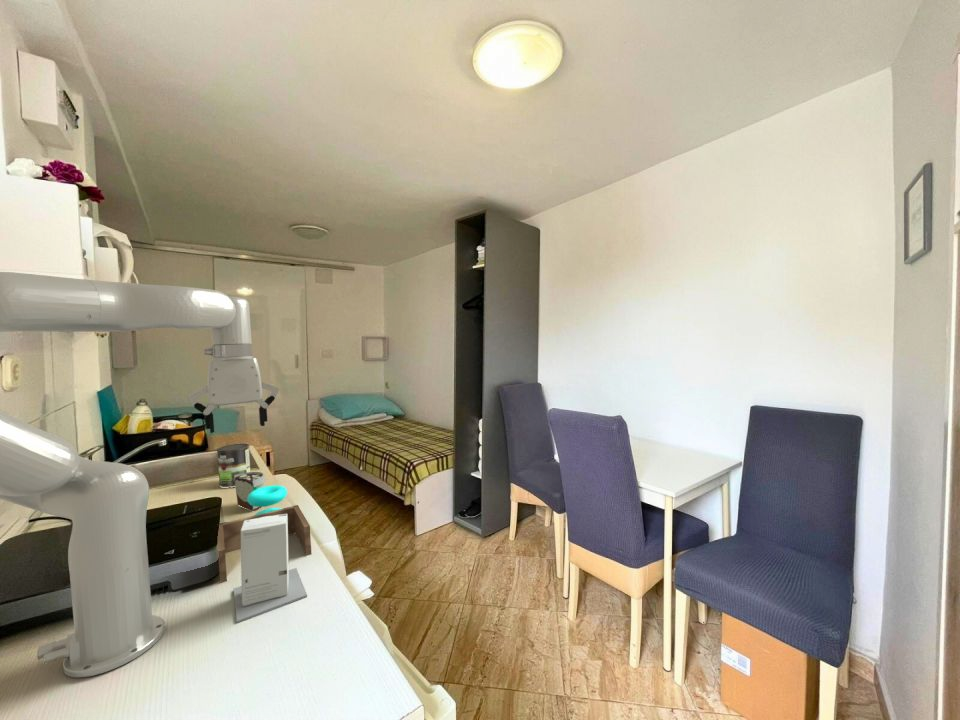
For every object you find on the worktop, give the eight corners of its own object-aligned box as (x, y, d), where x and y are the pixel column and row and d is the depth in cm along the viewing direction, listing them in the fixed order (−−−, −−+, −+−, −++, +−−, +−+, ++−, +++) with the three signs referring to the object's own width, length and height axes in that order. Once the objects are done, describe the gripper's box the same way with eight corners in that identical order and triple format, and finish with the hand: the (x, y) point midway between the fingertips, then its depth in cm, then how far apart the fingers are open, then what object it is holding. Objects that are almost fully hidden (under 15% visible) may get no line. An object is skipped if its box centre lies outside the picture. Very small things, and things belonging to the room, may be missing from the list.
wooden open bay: (220, 583, 84) (218, 551, 83) (218, 552, 97) (217, 524, 96) (311, 553, 94) (309, 525, 94) (299, 529, 107) (297, 504, 107)
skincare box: (242, 608, 75) (236, 532, 74) (246, 590, 80) (241, 519, 79) (290, 594, 78) (286, 522, 77) (291, 578, 83) (287, 510, 83)
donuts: (292, 489, 111) (253, 500, 104) (294, 523, 111) (255, 536, 104) (279, 481, 118) (242, 491, 111) (281, 513, 118) (244, 525, 111)
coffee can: (237, 489, 141) (234, 450, 141) (212, 488, 143) (209, 450, 142) (257, 479, 151) (255, 443, 151) (234, 478, 153) (232, 443, 152)
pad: (236, 623, 71) (236, 621, 71) (233, 590, 81) (233, 588, 81) (307, 596, 78) (307, 594, 78) (296, 569, 88) (296, 567, 88)
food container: (275, 505, 125) (273, 474, 124) (255, 512, 120) (253, 480, 119) (254, 498, 132) (252, 469, 131) (235, 505, 126) (233, 474, 126)
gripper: (183, 354, 79) (189, 438, 80) (278, 351, 89) (283, 425, 90) (185, 354, 85) (191, 432, 86) (274, 351, 95) (278, 420, 96)
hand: (238, 428), depth 88 cm, fingers open, 9 cm apart
